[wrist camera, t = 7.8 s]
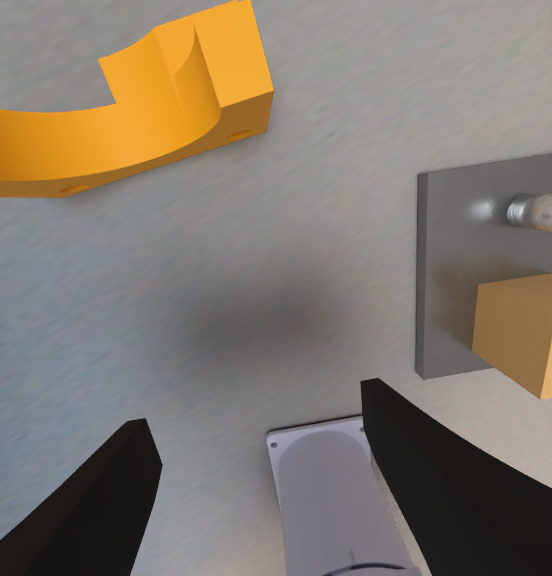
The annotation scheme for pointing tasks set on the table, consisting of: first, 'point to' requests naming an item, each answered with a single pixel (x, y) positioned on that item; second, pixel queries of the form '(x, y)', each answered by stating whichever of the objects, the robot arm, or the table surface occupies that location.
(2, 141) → the pipe clamp
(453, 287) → the plate
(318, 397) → the table surface
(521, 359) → the light orange cube
